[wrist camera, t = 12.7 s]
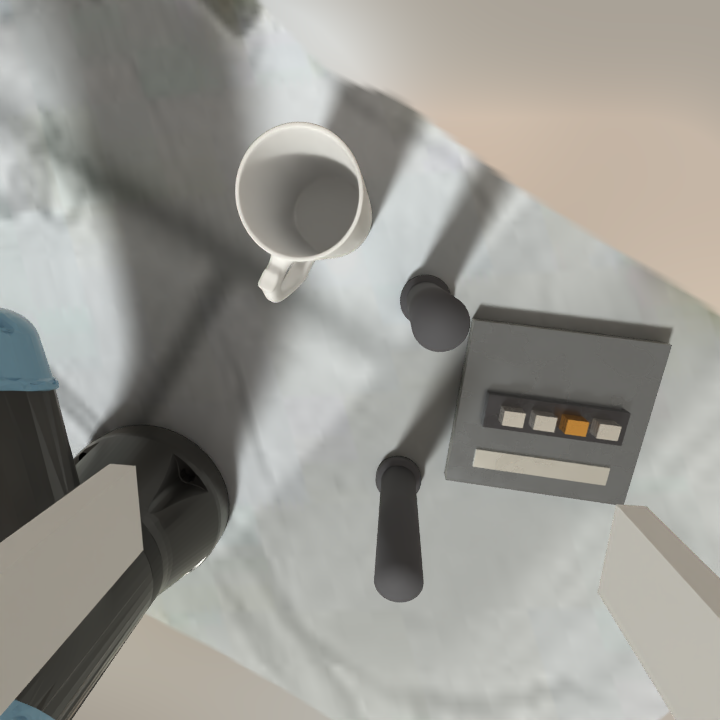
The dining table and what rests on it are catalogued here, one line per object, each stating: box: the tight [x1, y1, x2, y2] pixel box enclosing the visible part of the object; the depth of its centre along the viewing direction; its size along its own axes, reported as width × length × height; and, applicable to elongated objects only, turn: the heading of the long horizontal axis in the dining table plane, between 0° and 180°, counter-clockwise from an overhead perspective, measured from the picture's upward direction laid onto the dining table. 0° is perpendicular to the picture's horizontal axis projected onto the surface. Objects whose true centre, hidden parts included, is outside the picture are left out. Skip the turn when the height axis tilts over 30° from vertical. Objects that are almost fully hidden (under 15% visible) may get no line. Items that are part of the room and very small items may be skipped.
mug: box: [235, 122, 372, 303], centre depth 28 cm, size 10×7×12 cm, turn 153°
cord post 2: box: [400, 275, 470, 352], centre depth 28 cm, size 4×4×13 cm
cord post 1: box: [374, 456, 423, 602], centre depth 32 cm, size 4×4×13 cm
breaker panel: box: [444, 318, 672, 505], centre depth 34 cm, size 15×14×3 cm
